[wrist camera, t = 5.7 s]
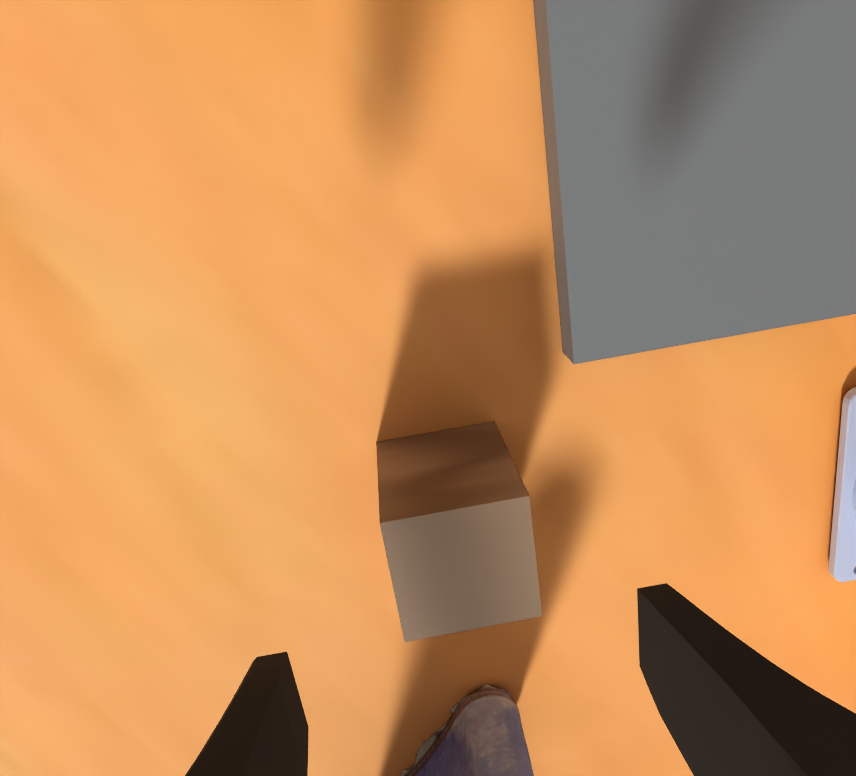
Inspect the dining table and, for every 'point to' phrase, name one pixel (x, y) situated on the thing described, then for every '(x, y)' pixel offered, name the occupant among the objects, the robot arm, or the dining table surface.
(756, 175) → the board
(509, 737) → the flask
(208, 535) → the dining table surface
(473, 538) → the brown wooden block
